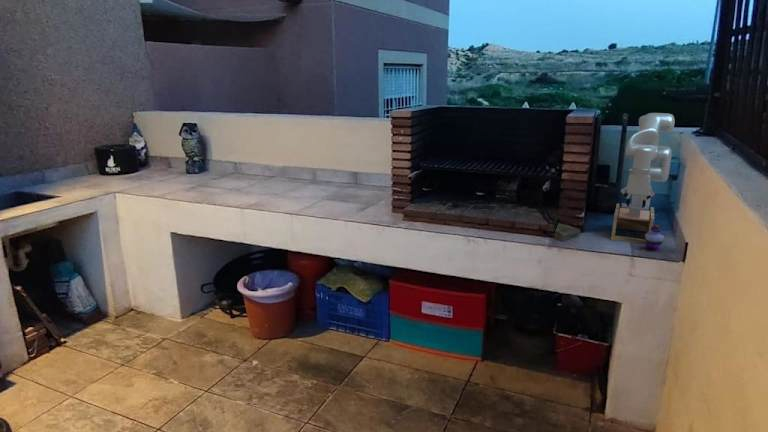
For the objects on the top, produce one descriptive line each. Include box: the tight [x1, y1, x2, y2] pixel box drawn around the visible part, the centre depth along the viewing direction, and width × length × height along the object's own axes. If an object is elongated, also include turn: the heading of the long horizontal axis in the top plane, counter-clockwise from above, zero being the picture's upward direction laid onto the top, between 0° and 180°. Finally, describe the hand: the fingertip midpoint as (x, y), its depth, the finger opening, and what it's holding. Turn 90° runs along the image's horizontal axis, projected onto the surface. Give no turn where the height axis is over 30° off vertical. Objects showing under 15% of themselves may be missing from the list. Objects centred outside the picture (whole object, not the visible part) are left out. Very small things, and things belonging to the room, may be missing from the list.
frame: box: [610, 203, 655, 245], centre depth 261 cm, size 25×18×14 cm
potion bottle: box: [644, 224, 665, 252], centre depth 242 cm, size 9×9×12 cm
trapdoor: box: [618, 202, 650, 221], centre depth 260 cm, size 18×14×4 cm
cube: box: [628, 203, 641, 218], centre depth 254 cm, size 5×5×5 cm
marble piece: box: [553, 222, 582, 242], centre depth 264 cm, size 17×15×4 cm
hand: (635, 206), depth 254 cm, fingers open, 6 cm apart
